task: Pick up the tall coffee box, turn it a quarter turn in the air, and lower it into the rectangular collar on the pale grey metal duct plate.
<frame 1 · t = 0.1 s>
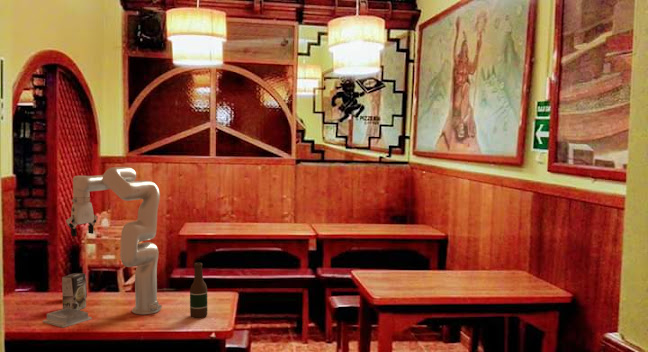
hand: (82, 234, 289), 31 cm above the table, tool pointing down, fingers open, 9 cm apart
coffee box: (74, 309, 270), on the table
beer bottle: (198, 316, 260), on the table
duct plate: (67, 320, 253), on the table
canned food: (78, 299, 287), on the table
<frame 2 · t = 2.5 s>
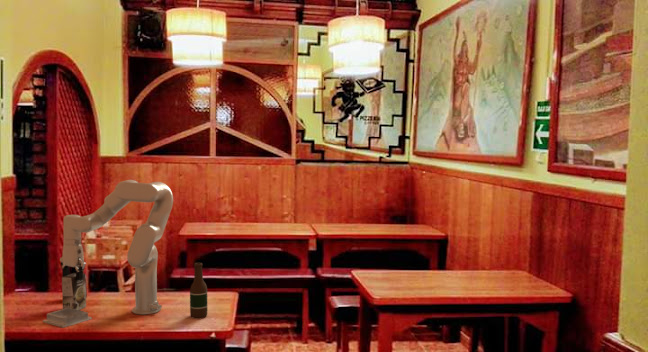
hand: (72, 278, 269), 15 cm above the table, tool pointing down, fingers open, 9 cm apart
coffee box: (74, 309, 270), on the table, touching gripper
everything else where it was.
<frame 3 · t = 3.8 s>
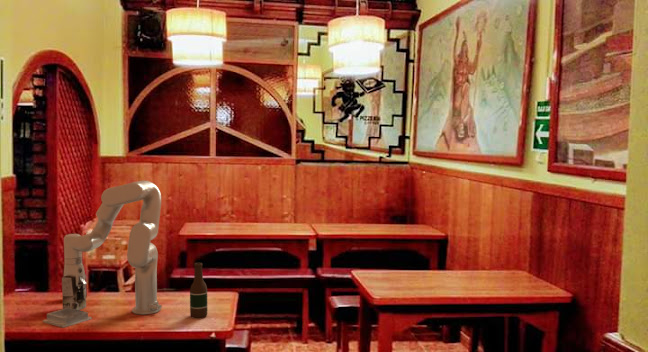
hand: (74, 298, 269), 5 cm above the table, tool pointing down, fingers closed on coffee box, 8 cm apart
coffee box: (74, 309, 270), on the table, touching gripper
everything else where it was.
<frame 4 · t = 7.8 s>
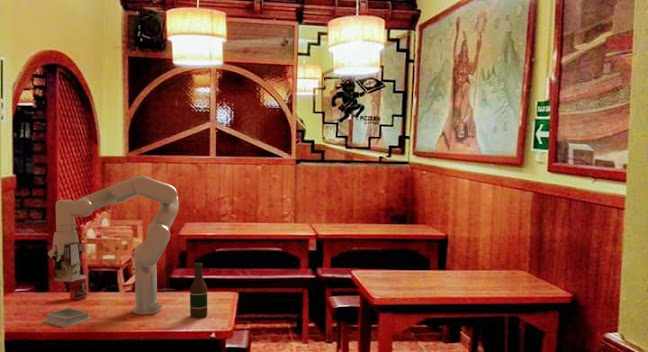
hand: (67, 267, 253), 23 cm above the table, tool pointing down, fingers closed on coffee box, 8 cm apart
coffee box: (67, 280, 254), point 17 cm above the table, touching gripper
everything else where it was.
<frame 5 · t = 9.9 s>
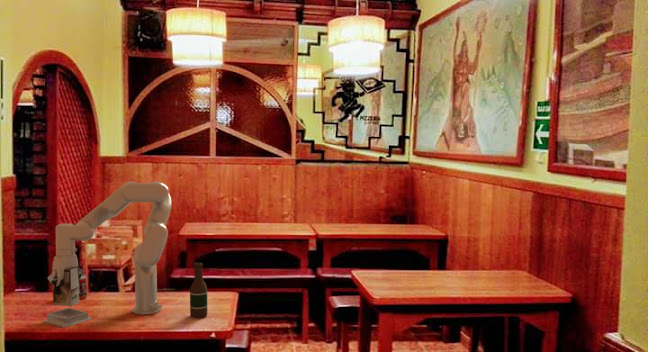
hand: (66, 292, 252), 13 cm above the table, tool pointing down, fingers closed on coffee box, 8 cm apart
coffee box: (66, 304, 253), point 7 cm above the table, touching gripper
everything else where it was.
when the fingers open (7 cm above the table, at t = 11.6 s): coffee box drops 1 cm, resting on duct plate.
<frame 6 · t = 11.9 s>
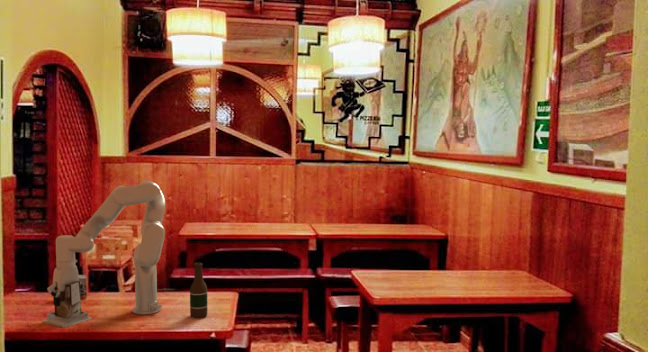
hand: (67, 302, 253), 8 cm above the table, tool pointing down, fingers open, 9 cm apart
coffee box: (68, 319, 253), point 1 cm above the table, touching duct plate
everything else where it was.
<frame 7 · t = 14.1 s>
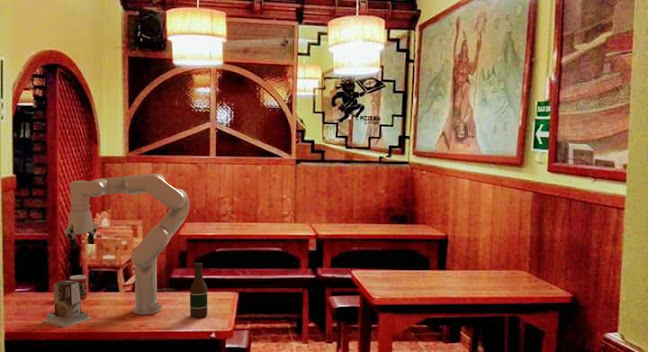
hand: (82, 245, 262), 31 cm above the table, tool pointing down, fingers open, 9 cm apart
nothing on the table moved.
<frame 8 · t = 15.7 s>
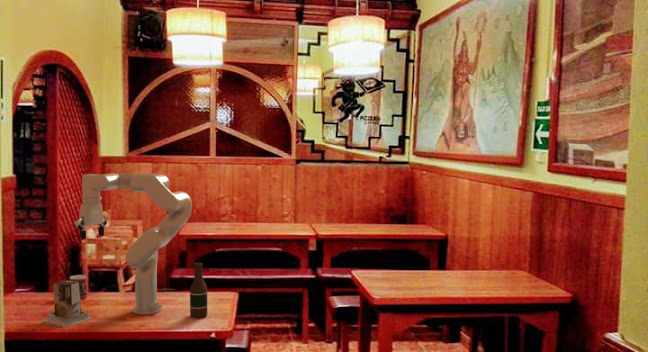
hand: (92, 237, 269), 33 cm above the table, tool pointing down, fingers open, 9 cm apart
nothing on the table moved.
at the end: coffee box 0.3 cm off-centre on the duct plate, point 0.6 cm above the duct plate's base; coffee box tilted 0°; the gripper is holding nothing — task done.
